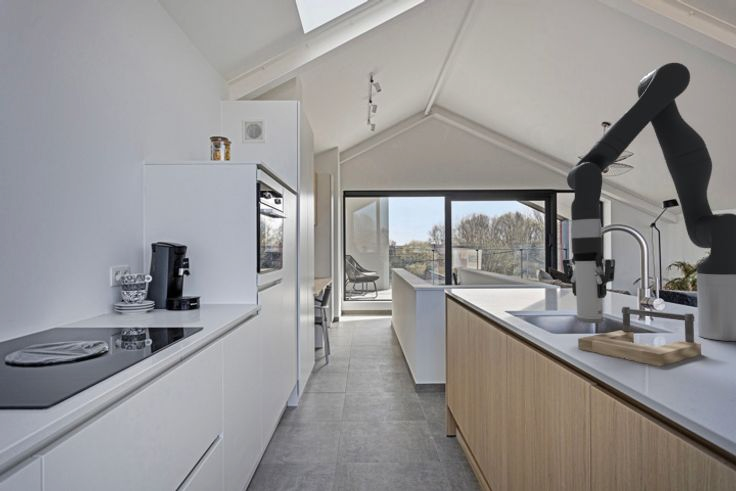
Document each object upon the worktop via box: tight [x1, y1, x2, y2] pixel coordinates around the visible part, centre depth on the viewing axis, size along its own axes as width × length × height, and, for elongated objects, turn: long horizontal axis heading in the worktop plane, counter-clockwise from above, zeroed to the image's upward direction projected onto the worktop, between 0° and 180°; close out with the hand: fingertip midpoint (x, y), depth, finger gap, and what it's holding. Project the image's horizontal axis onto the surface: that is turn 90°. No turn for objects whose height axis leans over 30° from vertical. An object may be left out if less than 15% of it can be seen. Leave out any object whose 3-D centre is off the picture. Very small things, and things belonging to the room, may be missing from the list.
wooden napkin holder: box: [577, 306, 702, 367], centre depth 96 cm, size 18×18×9 cm
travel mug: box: [574, 253, 604, 324], centre depth 112 cm, size 6×7×20 cm
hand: (589, 296), depth 112 cm, fingers closed on travel mug, 6 cm apart
